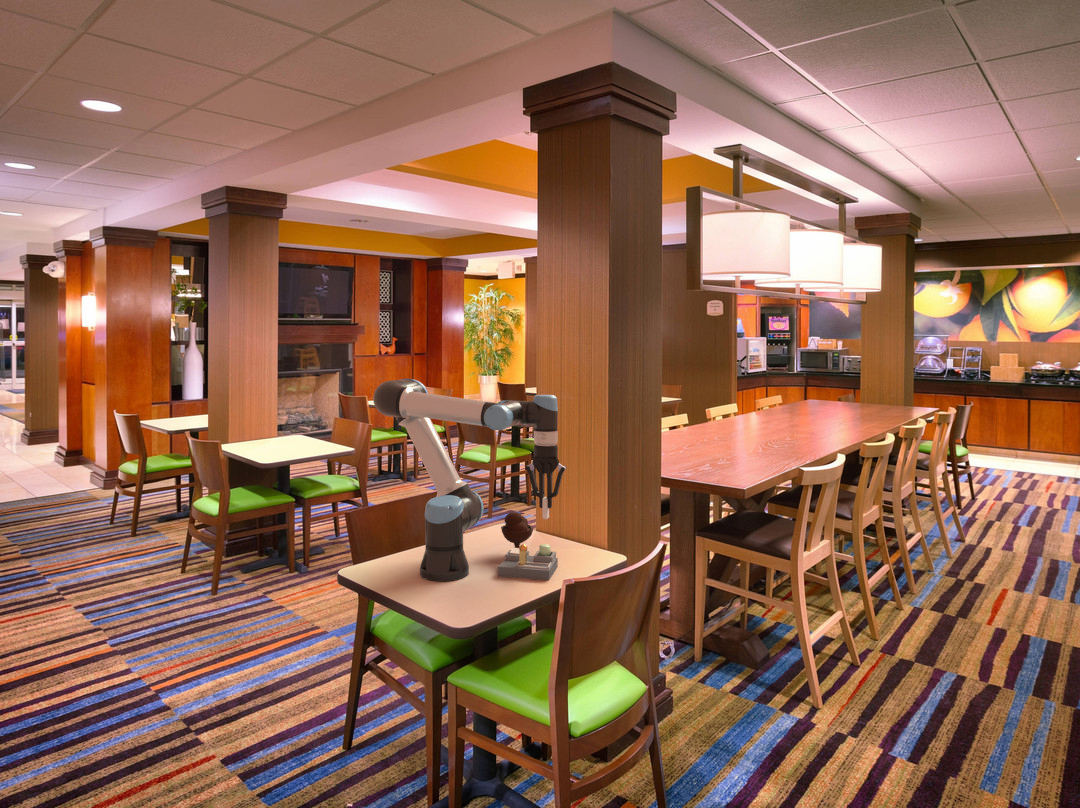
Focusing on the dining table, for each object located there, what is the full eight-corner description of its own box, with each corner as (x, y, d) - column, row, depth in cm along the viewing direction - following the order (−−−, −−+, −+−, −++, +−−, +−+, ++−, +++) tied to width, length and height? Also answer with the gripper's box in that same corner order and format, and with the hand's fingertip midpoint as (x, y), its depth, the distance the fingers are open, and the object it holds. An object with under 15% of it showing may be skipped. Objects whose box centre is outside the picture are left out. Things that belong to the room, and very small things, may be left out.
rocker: (509, 556, 220) (509, 552, 220) (512, 551, 223) (512, 547, 223) (522, 557, 220) (521, 553, 219) (524, 552, 222) (524, 548, 222)
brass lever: (518, 564, 213) (518, 545, 213) (520, 562, 216) (520, 542, 215) (526, 565, 213) (526, 545, 212) (528, 563, 215) (528, 543, 215)
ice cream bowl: (530, 560, 229) (530, 515, 227) (497, 558, 230) (497, 514, 229) (535, 551, 239) (535, 508, 238) (504, 549, 241) (504, 507, 240)
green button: (538, 556, 218) (538, 547, 218) (540, 553, 221) (540, 543, 221) (549, 557, 217) (549, 547, 217) (551, 553, 221) (551, 544, 220)
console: (498, 576, 213) (498, 560, 212) (509, 563, 226) (509, 548, 225) (549, 580, 209) (549, 564, 209) (557, 567, 222) (557, 551, 222)
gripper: (522, 445, 214) (522, 519, 216) (563, 446, 211) (563, 522, 213) (528, 441, 221) (528, 514, 223) (568, 443, 218) (568, 516, 220)
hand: (545, 518), depth 218 cm, fingers closed
